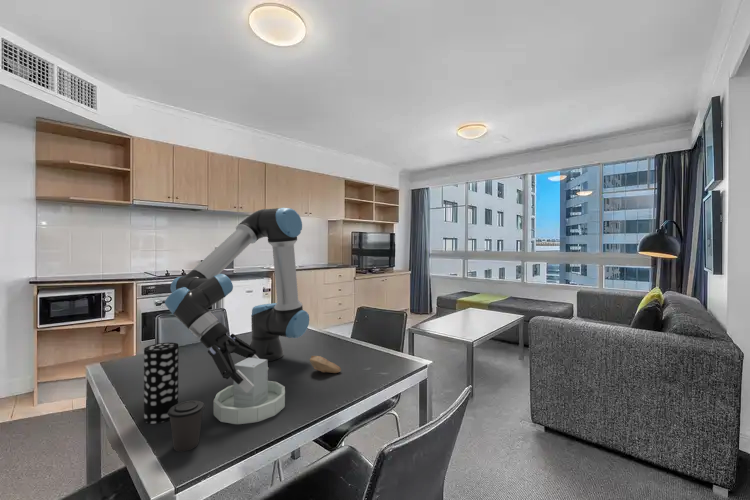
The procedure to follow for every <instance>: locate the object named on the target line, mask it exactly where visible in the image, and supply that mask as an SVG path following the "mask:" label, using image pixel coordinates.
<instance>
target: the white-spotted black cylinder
mask: <svg viewBox="0 0 750 500" xmlns="http://www.w3.org/2000/svg"><path fill="white" fill-rule="evenodd" d="M178 403H179V344H178V343H176V342H161V343H160V342H159V343H156V344H151V345H148V346H146V347H144V348H143V421H144V423H146V424H150V425H151V424H152V425H153V424H161V423H164V422H167V421H168V422H169V421H170V416H168V414H167V413H168V411H169V409H170V408H171V407H172V406H174V405H176V404H178Z"/></svg>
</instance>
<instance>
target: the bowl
mask: <svg viewBox="0 0 750 500" xmlns="http://www.w3.org/2000/svg"><path fill="white" fill-rule="evenodd" d="M285 407H286V386H284V385H283V384H281V383H279V382H278V381H273V380H268V399H267V400H266V401H265V402H263V403H262V404H261V405H259V406H254V407H245V408H242V407H236V406H234V384H232V385H228V386H227V387H225V388H224V389H222V390H220V391H219V392H217V393H216V395H215V398H214V399H213V416H214V417H215V418H216V419H217V420H218V421H220V422H221V423H228V424H232V425H242V424H243V425H244V424H252V423H258V422H262V421H264V420H267V419H269V418H272V417H274V416H276V415H278V414H279V413H280V412H281V410H283V409H284V408H285Z"/></svg>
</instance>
